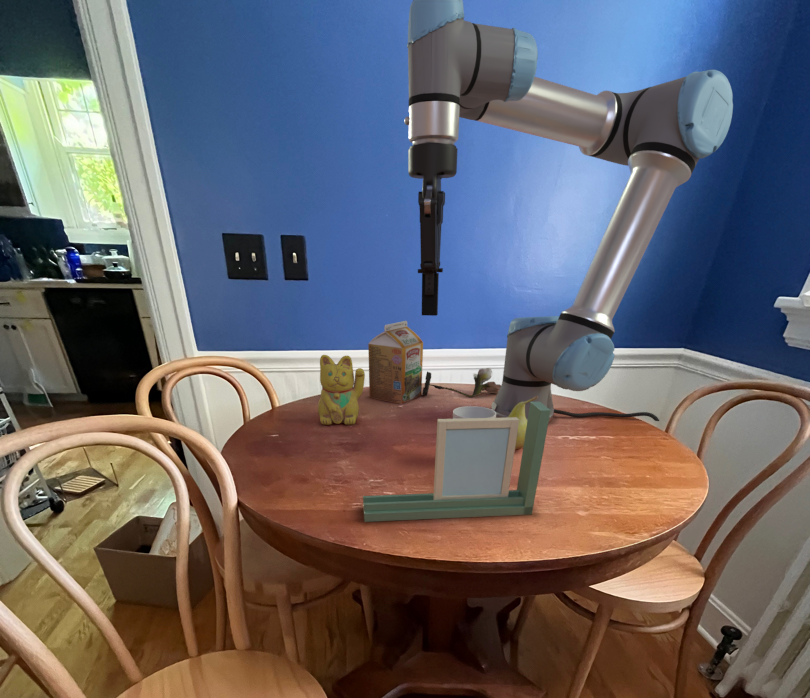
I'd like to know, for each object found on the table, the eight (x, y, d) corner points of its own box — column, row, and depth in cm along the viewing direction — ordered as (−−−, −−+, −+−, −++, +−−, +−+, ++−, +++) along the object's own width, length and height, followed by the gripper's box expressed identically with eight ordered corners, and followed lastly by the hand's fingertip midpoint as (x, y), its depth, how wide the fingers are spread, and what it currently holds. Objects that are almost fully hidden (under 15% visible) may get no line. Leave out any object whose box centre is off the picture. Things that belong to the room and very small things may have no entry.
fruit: (508, 440, 106) (516, 385, 99) (537, 450, 101) (547, 392, 95) (490, 448, 102) (496, 391, 95) (520, 458, 97) (529, 399, 91)
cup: (464, 472, 90) (468, 421, 85) (441, 458, 97) (444, 408, 91) (498, 465, 94) (505, 415, 88) (475, 451, 100) (479, 403, 94)
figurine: (317, 425, 112) (311, 358, 104) (321, 414, 119) (316, 351, 111) (365, 425, 113) (363, 359, 105) (366, 414, 120) (364, 351, 112)
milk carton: (401, 403, 128) (402, 327, 118) (369, 397, 133) (367, 323, 123) (421, 395, 136) (423, 322, 126) (390, 389, 141) (390, 318, 130)
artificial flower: (420, 395, 140) (426, 359, 137) (496, 406, 141) (503, 371, 138) (421, 395, 131) (427, 356, 129) (501, 407, 132) (509, 369, 129)
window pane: (505, 497, 78) (516, 417, 71) (507, 501, 77) (519, 419, 70) (433, 500, 77) (437, 418, 70) (434, 504, 76) (438, 421, 69)
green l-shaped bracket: (523, 502, 81) (539, 401, 72) (532, 514, 77) (550, 410, 68) (363, 508, 78) (359, 404, 69) (364, 522, 74) (360, 414, 65)
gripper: (414, 151, 78) (413, 310, 91) (401, 138, 68) (403, 319, 80) (460, 150, 77) (453, 310, 90) (454, 136, 67) (447, 320, 79)
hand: (429, 314), depth 85 cm, fingers closed
